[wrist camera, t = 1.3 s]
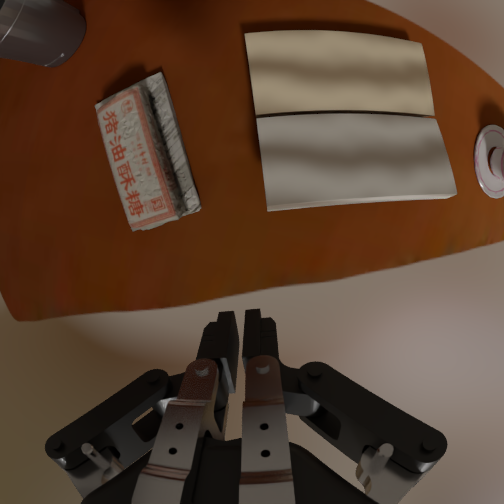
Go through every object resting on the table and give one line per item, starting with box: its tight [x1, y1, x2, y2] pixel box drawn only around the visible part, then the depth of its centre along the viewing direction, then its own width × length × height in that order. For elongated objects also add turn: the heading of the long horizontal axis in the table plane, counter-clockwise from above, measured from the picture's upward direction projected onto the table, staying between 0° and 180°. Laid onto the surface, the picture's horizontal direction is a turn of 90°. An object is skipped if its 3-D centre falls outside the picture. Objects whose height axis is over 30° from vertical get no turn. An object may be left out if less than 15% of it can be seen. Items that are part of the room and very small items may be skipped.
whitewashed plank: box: [256, 114, 457, 211], centre depth 27 cm, size 10×22×2 cm, turn 97°
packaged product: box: [95, 72, 201, 231], centre depth 29 cm, size 18×5×10 cm
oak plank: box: [245, 30, 434, 117], centre depth 25 cm, size 10×22×3 cm, turn 97°
